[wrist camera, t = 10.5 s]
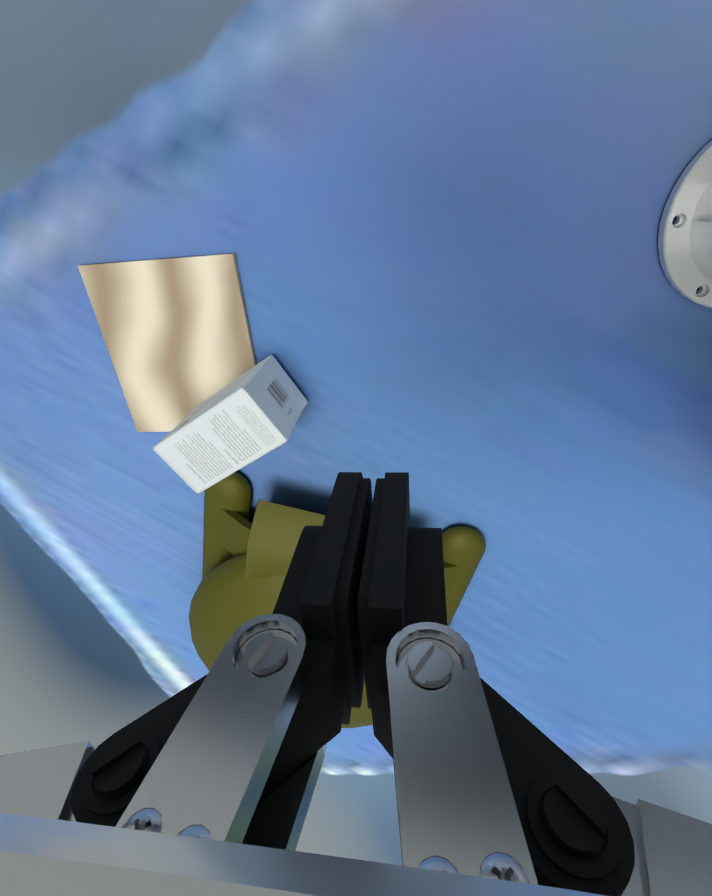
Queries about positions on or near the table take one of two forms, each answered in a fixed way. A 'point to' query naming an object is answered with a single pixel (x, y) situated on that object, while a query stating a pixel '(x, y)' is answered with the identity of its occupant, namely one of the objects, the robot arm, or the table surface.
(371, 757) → the table surface
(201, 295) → the board
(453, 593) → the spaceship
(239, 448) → the small box
